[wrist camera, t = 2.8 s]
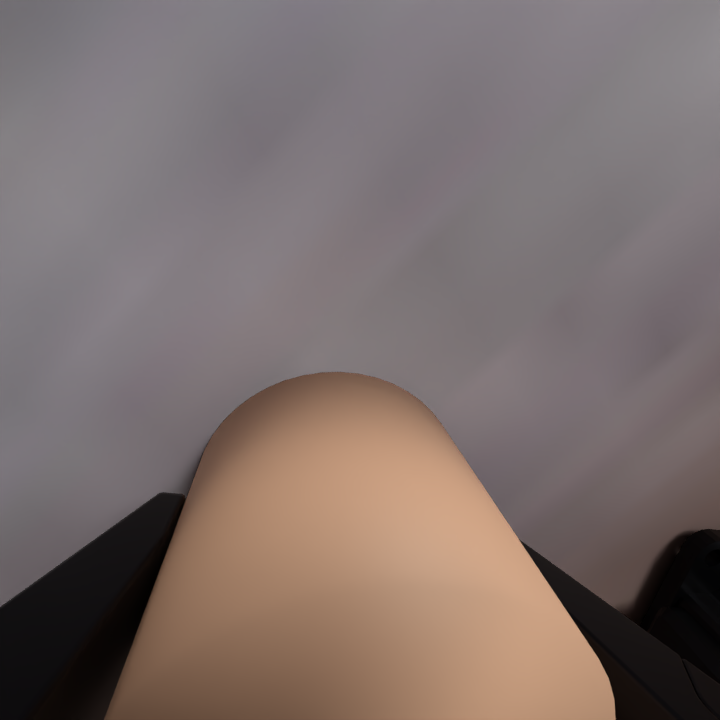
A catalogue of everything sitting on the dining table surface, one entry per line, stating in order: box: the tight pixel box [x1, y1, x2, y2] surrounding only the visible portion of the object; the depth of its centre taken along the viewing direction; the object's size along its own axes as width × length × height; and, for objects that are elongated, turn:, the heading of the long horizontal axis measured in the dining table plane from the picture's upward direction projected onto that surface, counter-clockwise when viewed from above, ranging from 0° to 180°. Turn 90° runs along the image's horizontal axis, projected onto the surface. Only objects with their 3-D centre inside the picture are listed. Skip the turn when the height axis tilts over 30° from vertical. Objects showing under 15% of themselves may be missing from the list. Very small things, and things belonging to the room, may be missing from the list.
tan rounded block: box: [104, 372, 616, 720], centre depth 7 cm, size 5×5×5 cm
